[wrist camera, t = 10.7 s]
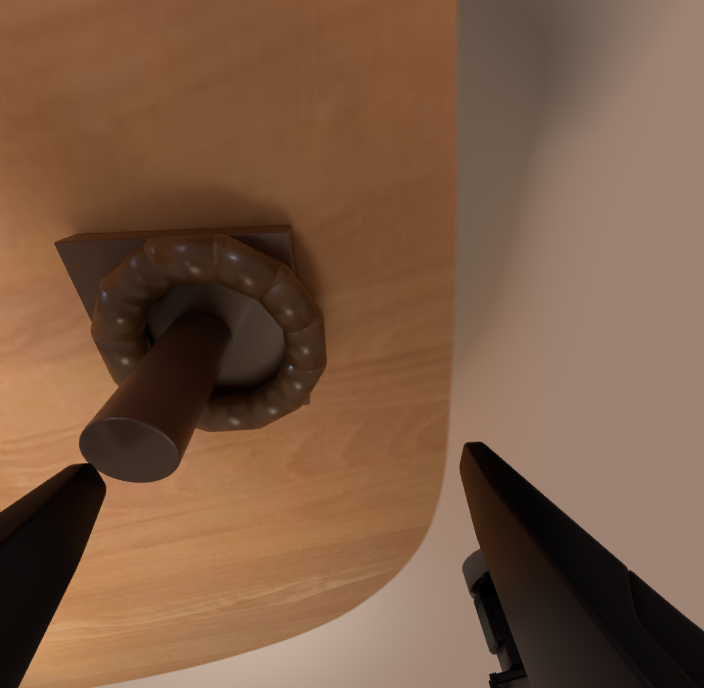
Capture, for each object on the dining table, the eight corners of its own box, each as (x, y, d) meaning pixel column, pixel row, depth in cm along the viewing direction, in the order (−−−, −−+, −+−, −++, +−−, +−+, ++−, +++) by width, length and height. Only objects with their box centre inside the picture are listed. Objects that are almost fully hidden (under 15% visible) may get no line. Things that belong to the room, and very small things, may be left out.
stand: (291, 224, 13) (262, 302, 7) (310, 388, 17) (303, 529, 11) (74, 233, 13) (-165, 324, 6) (148, 399, 17) (45, 551, 11)
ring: (317, 225, 12) (316, 236, 10) (331, 407, 16) (331, 431, 15) (68, 235, 11) (34, 248, 10) (151, 418, 16) (134, 445, 14)
